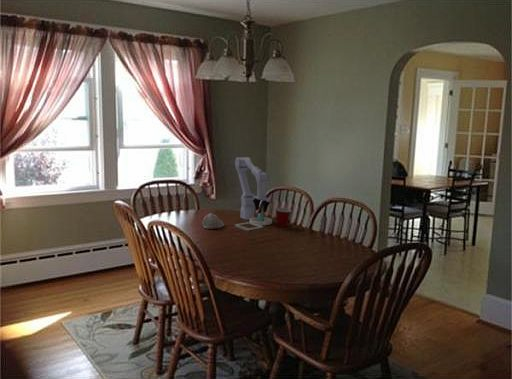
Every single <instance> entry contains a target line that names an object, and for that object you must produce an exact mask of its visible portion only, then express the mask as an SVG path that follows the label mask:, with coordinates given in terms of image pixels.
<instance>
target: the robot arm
mask: <svg viewBox="0 0 512 379" xmlns="http://www.w3.org/2000/svg"><path fill="white" fill-rule="evenodd" d="M234 165H235V166H234V167H235V169H236V171H237V176H238V179H239V182H240V186H241V190H242V191H241V192H242V195H241V196H240V203H241V204H240V205H241V207H240V214H239V215H240V219H243V220H249V221H250V219H251V218H254V217H255V215H254V213H255V212H254V211H259V210H260V203H262V209H263V213H267V212H268V211H267V210H268V208H269V205H270V203H271V198H268V197H267V195H266V194H267V182H268V180H269V175H268V173H267V172H263V170H261V169H260V167H259V166H255V164H253V162H252V159H251V158H250V156H249V157H248V156H245V157H238V156H237V157H236V158H235V160H234ZM248 169H249V170H250V171H251V174H252V175H253V176H254V177H255V180H256V184H257V186H256V187H257V190H256V191H257V192H256V195H255V194H254V193H252V192H251V189H250V185H249V181H248V180H249V179H248V177H247V173H246V171H247V170H248Z"/></svg>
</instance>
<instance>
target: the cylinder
mask: <svg viewBox="0 0 512 379" xmlns="http://www.w3.org/2000/svg"><path fill="white" fill-rule="evenodd" d="M257 217H258V222H264V217H265V214H264V212H263V213H261V212H260V213H257Z"/></svg>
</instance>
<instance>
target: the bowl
mask: <svg viewBox="0 0 512 379" xmlns="http://www.w3.org/2000/svg"><path fill="white" fill-rule="evenodd" d="M249 222H251V223H254V224H258V225H261V226H268V225H271V224H273V219H272V218H269V217H265V216H264V222H258V216H256V217H255V216H254V218H251V219H250V220H249Z"/></svg>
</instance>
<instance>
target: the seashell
mask: <svg viewBox="0 0 512 379" xmlns="http://www.w3.org/2000/svg"><path fill="white" fill-rule="evenodd" d="M201 224H202V226H203V228H204V229H205V228H206V230H212V229H214V230H215V229H220V228H223V227H225V224H224V222H223V219H219V217H218V216H217V214H215V213H213V212H210V213H208V214H207V215H205V216H204V217H203V218H202V221H201Z"/></svg>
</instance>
